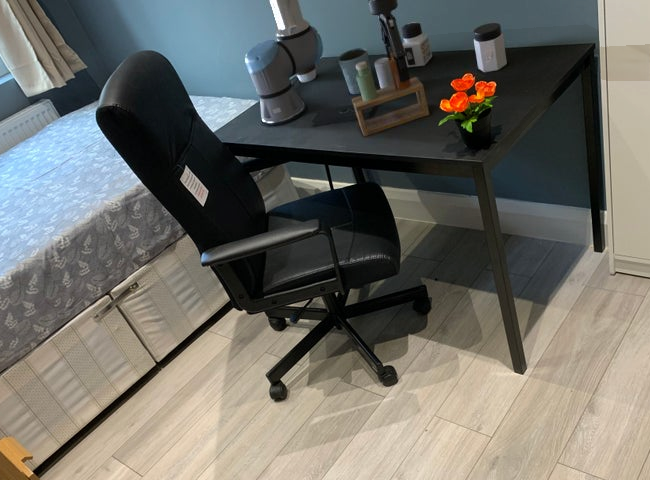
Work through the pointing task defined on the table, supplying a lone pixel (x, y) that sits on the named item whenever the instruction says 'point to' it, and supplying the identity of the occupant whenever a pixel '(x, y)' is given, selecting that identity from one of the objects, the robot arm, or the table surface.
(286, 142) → the table surface
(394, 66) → the amber bottle
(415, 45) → the container
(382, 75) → the beverage can
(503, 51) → the jar
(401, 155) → the table surface
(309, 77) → the coffee cup
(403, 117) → the wooden frame
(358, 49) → the blue-grey plant pot
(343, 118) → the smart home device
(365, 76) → the sage bottle
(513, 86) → the table surface
